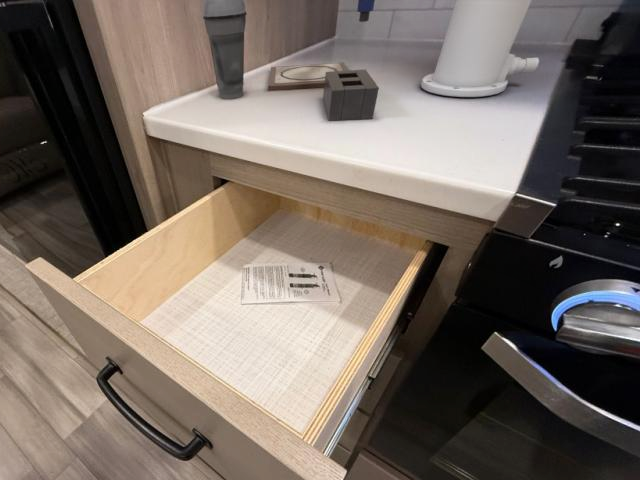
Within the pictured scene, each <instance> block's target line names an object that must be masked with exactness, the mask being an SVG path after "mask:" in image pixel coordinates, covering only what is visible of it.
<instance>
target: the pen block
mask: <svg viewBox="0 0 640 480" xmlns="http://www.w3.org/2000/svg"><path fill="white" fill-rule="evenodd" d="M379 89H380V87H379V86H378V84H377V83H376V82H375V80H374V79H373V77H372V76H371V74H370V73H369V72H368V71H367V69H366V68H365V69H351V70H350V69H348V71H333V72H326V74H325V84H324V87H323V94H322V100H323V104H324V108H325V113H326V116H327V120H328V121H329V122H331V121H332V122H333V121H334V122H335V121H354V120H355V121H356V120H372V119H373V118H374V114H375V109H376V104H377V99H378V95H379V94H378V93H379Z"/></svg>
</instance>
